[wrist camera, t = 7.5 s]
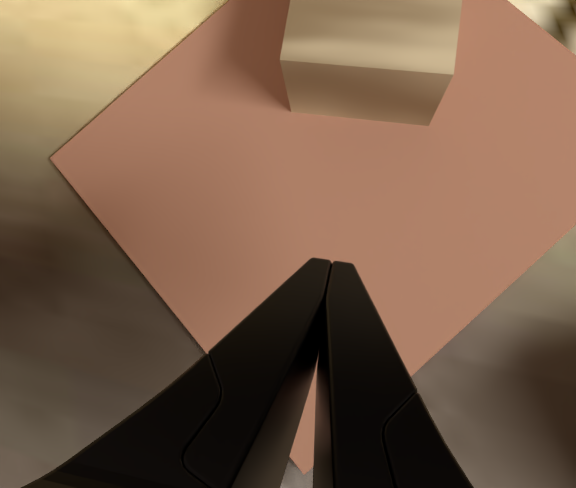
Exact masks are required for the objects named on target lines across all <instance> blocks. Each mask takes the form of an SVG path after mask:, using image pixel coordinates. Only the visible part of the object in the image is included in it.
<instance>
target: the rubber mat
mask: <svg viewBox="0 0 576 488" xmlns="http://www.w3.org/2000/svg"><path fill="white" fill-rule="evenodd" d="M289 5H290V0H229V1H228V2H227V3H226V4H224V5H223V6H222V7H221V8H220V9H219V10H218V11H216V12H215V13H214V14H213V15H212V16H211V17H210V18H209V19H207V20H206V21H205V22H204V23H203V24H202V25H201V26H199V27H198V28H197V29H196V30H195V31H194V32H193V33H191V34H190V35H189V36H188V37H187V38H186V39H185V40H184V41H182V42H181V43H180V44H179V45H178V46H177V47H176V48H174V49H173V50H172V51H171V52H170V53H169V54H168V55H166V56H165V57H164V58H163V59H162V60H161V61H160V62H158V63H157V64H156V65H155V66H154V67H153V68H152V69H151V70H149V71H148V72H147V73H146V74H145V75H144V76H143V77H141V78H140V79H139V80H138V81H137V82H136V83H135V84H133V85H132V86H131V87H130V88H129V89H128V90H127V91H126V92H124V93H123V94H122V95H121V96H120V97H119V98H118V99H116V100H115V101H114V102H113V103H112V104H111V105H110V106H108V107H107V108H106V109H105V110H104V111H103V112H102V113H101V114H99V115H98V116H97V117H96V118H95V119H94V120H93V121H91V122H90V123H89V124H88V125H87V126H86V127H85V128H83V129H82V130H81V131H80V132H79V133H78V134H77V135H76V136H74V137H73V138H72V139H71V140H70V141H69V142H68V143H66V144H65V145H64V146H63V147H62V148H61V149H60V150H58V151H57V152H56V153H55V154H54V155H53V156H52V157H50V159H51V160H52V162H53V163H54V164H55V165H56V167H57V168H58V169H59V170H60V172H61V173H62V174H63V175H64V177H65V178H66V179H67V180H68V182H69V183H70V184H71V185H72V187H73V188H74V189H75V190H76V191H77V193H78V194H79V195H80V196H81V198H82V199H83V200H84V201H85V203H86V204H87V205H88V206H89V208H90V209H91V210H92V211H93V213H94V214H95V215H96V216H97V218H98V219H99V220H100V221H101V223H102V224H103V225H104V226H105V228H106V229H107V230H108V231H109V233H110V234H111V235H112V236H113V238H114V239H115V240H116V241H117V243H118V244H119V245H120V246H121V247H122V249H123V250H124V251H125V252H126V254H127V255H128V256H129V257H130V259H131V260H132V261H133V262H134V264H135V265H136V266H137V267H138V269H139V270H140V271H141V272H142V274H143V275H144V276H145V277H146V279H147V280H148V281H149V282H150V284H151V285H152V286H153V287H154V289H155V290H156V291H157V292H158V294H159V295H160V296H161V297H162V299H163V300H164V301H165V302H166V303H167V305H168V306H169V307H170V308H171V310H172V311H173V312H174V313H175V315H176V316H177V317H178V318H179V320H180V321H181V322H182V323H183V325H184V326H185V327H186V328H187V330H188V331H189V332H190V333H191V335H192V336H193V337H194V338H195V340H196V341H197V342H198V343H199V345H200V346H201V347H202V348H203V350H204V351H205V352H206V353H207V354H208V351H209V350H210V349H211V348H212V347H213V346H214V345H216V344H217V343H218V342H219V341H220V340H221V339H222V338H223V337H224V336H225V335H227V334H228V333H229V332H230V331H231V330H232V329H233V328H234V327H235V326H236V325H238V324H239V323H240V322H241V321H242V320H243V319H244V318H245V317H246V316H247V315H249V314H250V313H251V312H252V311H253V310H254V309H255V308H256V307H257V306H259V305H260V304H261V303H262V302H263V301H264V300H265V299H266V298H267V297H268V296H270V295H271V294H272V293H273V292H274V291H275V290H276V289H277V288H278V287H279V286H281V285H282V284H283V283H284V282H285V281H286V280H287V279H288V278H289V277H290V276H292V275H293V274H294V273H295V272H296V271H297V270H298V269H299V268H300V267H301V266H303V265H304V264H305V263H306V262H307V261H308V260H309V259H310V258H313V257H315V258H322V259H328V260H330V261H331V262H332V263H333V261H342V262H349V263H352V264H354V266H355V268H356V270H357V272H358V273H359V275H360V277H361V279H362V281H363V283H364V285H365V287H366V289H367V291H368V293H369V295H370V297H371V299H372V301H373V303H374V305H375V307H376V309H377V311H378V313H379V315H380V317H381V319H382V321H383V323H384V325H385V327H386V329H387V331H388V333H389V335H390V337H391V339H392V341H393V343H394V345H395V347H396V349H397V351H398V353H399V355H400V357H401V359H402V361H403V363H404V365H405V367H406V368H407V370H408V372H409V374H410V376H412V375H413V374H414V373H415V372H416V371H417V370H418V369H419V368H421V367H422V366H423V365H424V364H425V363H426V362H427V361H428V360H429V359H430V358H431V357H433V356H434V355H435V354H436V353H437V352H438V351H439V350H440V349H441V348H442V347H443V346H444V345H446V344H447V343H448V342H449V341H450V340H451V339H452V338H453V337H454V336H455V335H456V334H457V333H459V332H460V331H461V330H462V329H463V328H464V327H465V326H466V325H467V324H468V323H469V322H471V321H472V320H473V319H474V318H475V317H476V316H477V315H478V314H479V313H480V312H481V311H482V310H484V309H485V308H486V307H487V306H488V305H489V304H490V303H491V302H492V301H493V300H494V299H495V298H497V297H498V296H499V295H500V294H501V293H502V292H503V291H504V290H505V289H506V288H507V287H509V286H510V285H511V284H512V283H513V282H514V281H515V280H516V279H517V278H518V277H519V276H520V275H522V274H523V273H524V272H525V271H526V270H527V269H528V268H529V267H530V266H531V265H532V264H534V263H535V262H536V261H537V260H538V259H539V258H540V257H541V256H542V255H543V254H544V253H545V252H547V251H548V250H549V249H550V248H551V247H552V246H553V245H554V244H555V243H556V242H557V241H558V240H560V239H561V238H562V237H563V236H564V235H565V234H566V233H567V232H568V231H569V230H570V229H572V228H573V227H574V226H575V225H576V55H575V54H573V53H572V52H571V51H570V50H568V49H567V48H566V47H565V46H563V45H562V44H561V43H560V42H558V41H557V40H556V39H555V38H553V37H552V36H551V35H550V34H548V33H547V32H546V31H545V30H543V29H542V28H541V27H540V26H539V25H537V24H536V23H535V22H534V21H532V20H531V19H530V18H529V17H527V16H526V15H525V14H524V13H522V12H521V11H520V10H519V9H517V8H516V7H515V6H514V5H512V4H511V3H510V2H509V1H507V0H462V7H461V16H460V24H459V33H458V42H457V50H456V59H455V68H454V75H453V77H452V79H451V81H450V83H449V85H448V87H447V89H446V91H445V94H444V96H443V98H442V100H441V102H440V104H439V106H438V108H437V110H436V112H435V114H434V116H433V118H432V120H431V122H430V124H429V126H423V125H413V124H403V123H393V122H383V121H373V120H364V119H354V118H344V117H334V116H324V115H314V114H304V113H295V112H291V108H290V104H289V99H288V95H287V90H286V86H285V82H284V77H283V73H282V68H281V64H280V55H281V49H282V44H283V38H284V33H285V27H286V21H287V16H288V10H289ZM317 363H318V360H317ZM316 374H317V365H316V369H315V373H314V377H313V380H312V383H311V387H310V390H309V393H308V397H307V400H306V403H305V406H304V410H303V413H302V416H301V420H300V423H299V426H298V430H297V433H296V436H295V439H294V443H293V446H292V449H291V453H290V456H289V457H290V458H291V459H292V460H293V462H294V463H295V464H296V465H297V467H298V468H299V469H300V470H301V472H302V473H303V474H305V473H307V472H308V471H309V470H310V469H311V468H312V467H313V463H314V431H315V400H316Z"/></svg>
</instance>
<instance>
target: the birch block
mask: <svg viewBox="0 0 576 488" xmlns="http://www.w3.org/2000/svg"><path fill="white" fill-rule="evenodd" d="M461 7H462V0H290V5H289V10H288V16H287V21H286V27H285V33H284V38H283V44H282V49H281V55H280V64H281V68H282V73H283V77H284V82H285V86H286V90H287V95H288V99H289V104H290V108H291V112H295V113H304V114H314V115H324V116H334V117H344V118H354V119H364V120H373V121H383V122H393V123H403V124H413V125H423V126H429V124H430V122H431V120H432V118H433V116H434V114H435V112H436V110H437V108H438V106H439V104H440V102H441V100H442V98H443V96H444V94H445V91H446V89H447V87H448V85H449V83H450V81H451V79H452V77H453V75H454V68H455V59H456V50H457V42H458V33H459V24H460V16H461Z"/></svg>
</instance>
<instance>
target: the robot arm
mask: <svg viewBox="0 0 576 488" xmlns="http://www.w3.org/2000/svg"><path fill="white" fill-rule="evenodd" d="M317 360H318V363H317ZM316 365H317V374H316V400H315V431H314V463H313V488H474V487H473V486H472V484H471V483H470V481H469V480H468V478H467V477H466V475H465V473H464V472H463V470H462V469H461V467H460V465H459V464H458V462H457V461H456V459H455V457H454V456H453V454H452V453H451V451H450V449H449V448H448V446H447V445H446V443H445V441H444V439H443V437H442V436H441V434H440V432H439V430H438V428H437V426H436V425H435V423H434V421H433V419H432V417H431V416H430V414H429V412H428V410H427V408H426V406H425V404H424V402H423V400H422V398H421V396H420V394H419V393H417V388H416V386H415V384H414V382H413V380H412V378H411V376H410V374H409V372H408V370H407V368H406V367H405V365H404V363H403V361H402V359H401V357H400V355H399V353H398V351H397V349H396V347H395V345H394V343H393V341H392V339H391V337H390V335H389V333H388V331H387V329H386V327H385V325H384V323H383V321H382V319H381V317H380V315H379V313H378V311H377V309H376V307H375V305H374V303H373V301H372V299H371V297H370V295H369V293H368V291H367V289H366V287H365V285H364V283H363V281H362V279H361V277H360V275H359V273H358V272H357V270H356V268H355V266H354V264H352V263H349V262H342V261H333V263H332V262H331V261H330V260H328V259H322V258H315V257H313V258H310V259H309V260H308V261H307V262H306V263H305V264H304V265H303V266H301V267H300V268H299V269H298V270H297V271H296V272H295V273H294V274H293V275H292V276H290V277H289V278H288V279H287V280H286V281H285V282H284V283H283V284H282V285H281V286H279V287H278V288H277V289H276V290H275V291H274V292H273V293H272V294H271V295H270V296H268V297H267V298H266V299H265V300H264V301H263V302H262V303H261V304H260V305H259V306H257V307H256V308H255V309H254V310H253V311H252V312H251V313H250V314H249V315H247V316H246V317H245V318H244V319H243V320H242V321H241V322H240V323H239V324H238V325H236V326H235V327H234V328H233V329H232V330H231V331H230V332H229V333H228V334H227V335H225V336H224V337H223V338H222V339H221V340H220V341H219V342H218V343H217V344H216V345H214V346H213V347H212V348H211V349H210V350H209V351H208V354H204V355H203V356H202V357H201V358H200V359H199V360H198V361H197V362H195V363H194V364H193V365H192V366H191V367H190V368H189V369H188V370H186V371H185V372H184V373H183V374H182V375H181V376H179V377H178V378H177V379H176V380H175V381H174V382H172V383H171V384H170V385H169V386H168V387H166V388H165V389H164V390H162V391H161V392H160V393H158V394H157V395H156V396H155V397H153V398H152V399H151V400H149V401H148V402H147V403H145V404H144V405H143V406H141V407H140V408H139V409H137V410H136V411H135V412H133V413H132V414H131V415H129V416H128V417H126V418H125V419H124V420H122V421H121V422H120V423H118V424H117V425H115V426H114V427H113V428H111V429H110V430H109V431H107V432H106V433H105V434H103V435H102V436H100V437H99V438H98V439H96V440H95V441H94V442H92V443H91V444H89V445H88V446H87V447H85V448H84V449H83V450H81V451H80V452H78V453H77V454H76V455H74V456H73V457H72V458H70V459H69V460H67V461H66V462H64V463H63V464H62V465H60V466H59V467H57V468H56V469H54V470H53V471H51V472H49V473H48V474H46V475H44V476H42V477H41V478H39V479H37V480H35V481H33V482H31V483H29V484H27V485H25V486H23V487H21V488H280V486H281V482H282V479H283V476H284V472H285V469H286V466H287V462H288V459H289V456H290V453H291V449H292V446H293V443H294V439H295V436H296V433H297V430H298V426H299V423H300V420H301V416H302V413H303V410H304V406H305V403H306V400H307V397H308V393H309V390H310V387H311V383H312V380H313V377H314V373H315V369H316Z"/></svg>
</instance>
